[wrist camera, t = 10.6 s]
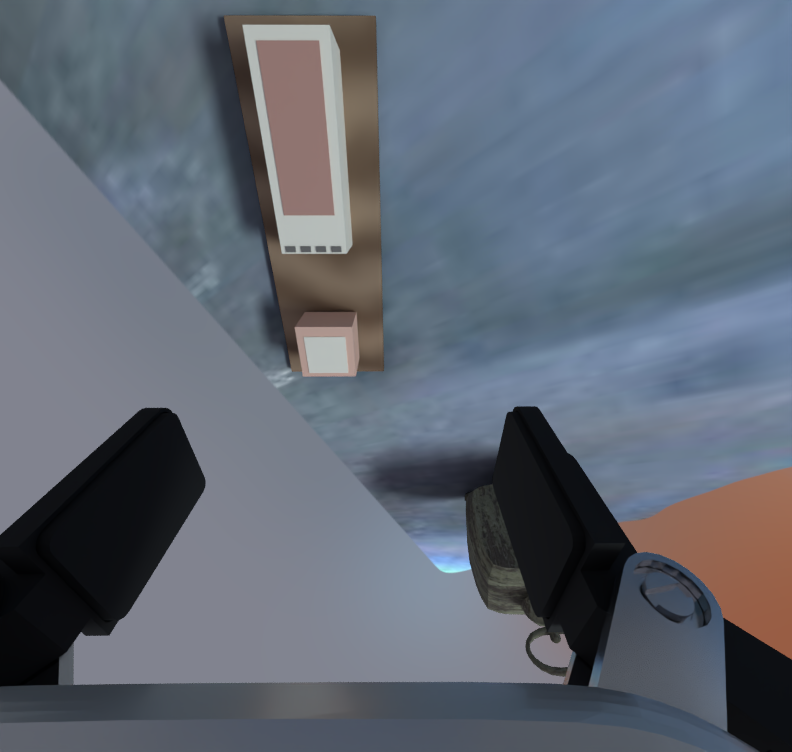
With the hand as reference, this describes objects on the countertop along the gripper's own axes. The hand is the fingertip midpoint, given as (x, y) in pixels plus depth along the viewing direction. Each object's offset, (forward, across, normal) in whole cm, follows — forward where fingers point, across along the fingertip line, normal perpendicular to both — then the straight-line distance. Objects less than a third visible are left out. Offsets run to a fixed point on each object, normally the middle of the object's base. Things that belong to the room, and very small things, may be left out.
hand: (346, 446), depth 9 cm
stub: (+29, +6, +9) cm, 31 cm away
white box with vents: (+30, +6, -8) cm, 32 cm away
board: (+30, +6, -2) cm, 31 cm away
